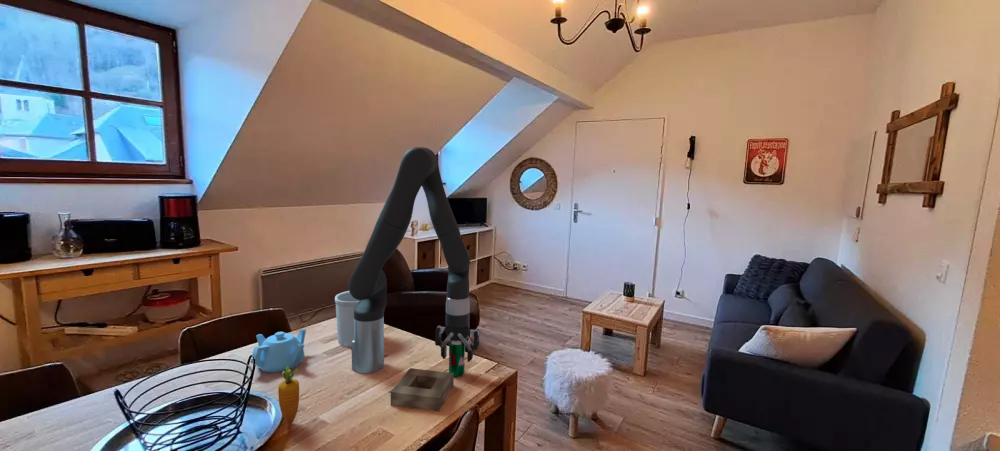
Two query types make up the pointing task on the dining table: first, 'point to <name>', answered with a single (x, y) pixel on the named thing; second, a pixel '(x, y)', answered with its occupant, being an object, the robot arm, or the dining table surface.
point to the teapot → (279, 351)
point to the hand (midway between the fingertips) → (456, 359)
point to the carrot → (289, 396)
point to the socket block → (422, 389)
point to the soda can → (456, 357)
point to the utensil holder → (345, 317)
